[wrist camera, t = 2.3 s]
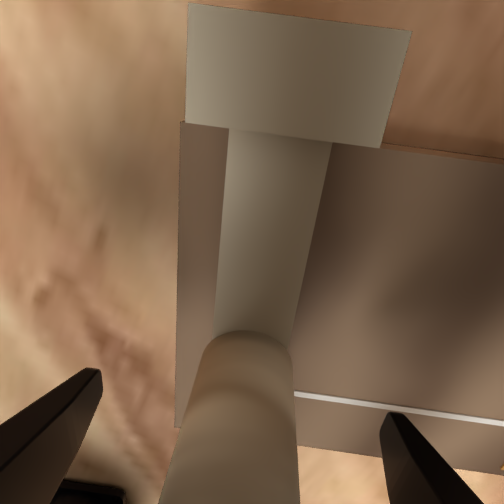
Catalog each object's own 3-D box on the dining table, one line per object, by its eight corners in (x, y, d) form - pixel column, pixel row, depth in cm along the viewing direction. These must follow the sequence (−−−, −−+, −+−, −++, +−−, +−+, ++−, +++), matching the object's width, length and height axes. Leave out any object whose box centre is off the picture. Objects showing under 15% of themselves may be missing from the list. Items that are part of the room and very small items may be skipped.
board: (184, 393, 18) (173, 428, 16) (195, 118, 12) (179, 121, 10) (553, 447, 17) (586, 489, 15) (762, 193, 11) (858, 212, 9)
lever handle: (204, 359, 16) (128, 631, 8) (227, 45, 10) (26, -173, 2) (284, 370, 16) (292, 657, 8) (352, 61, 10) (661, -97, 2)
